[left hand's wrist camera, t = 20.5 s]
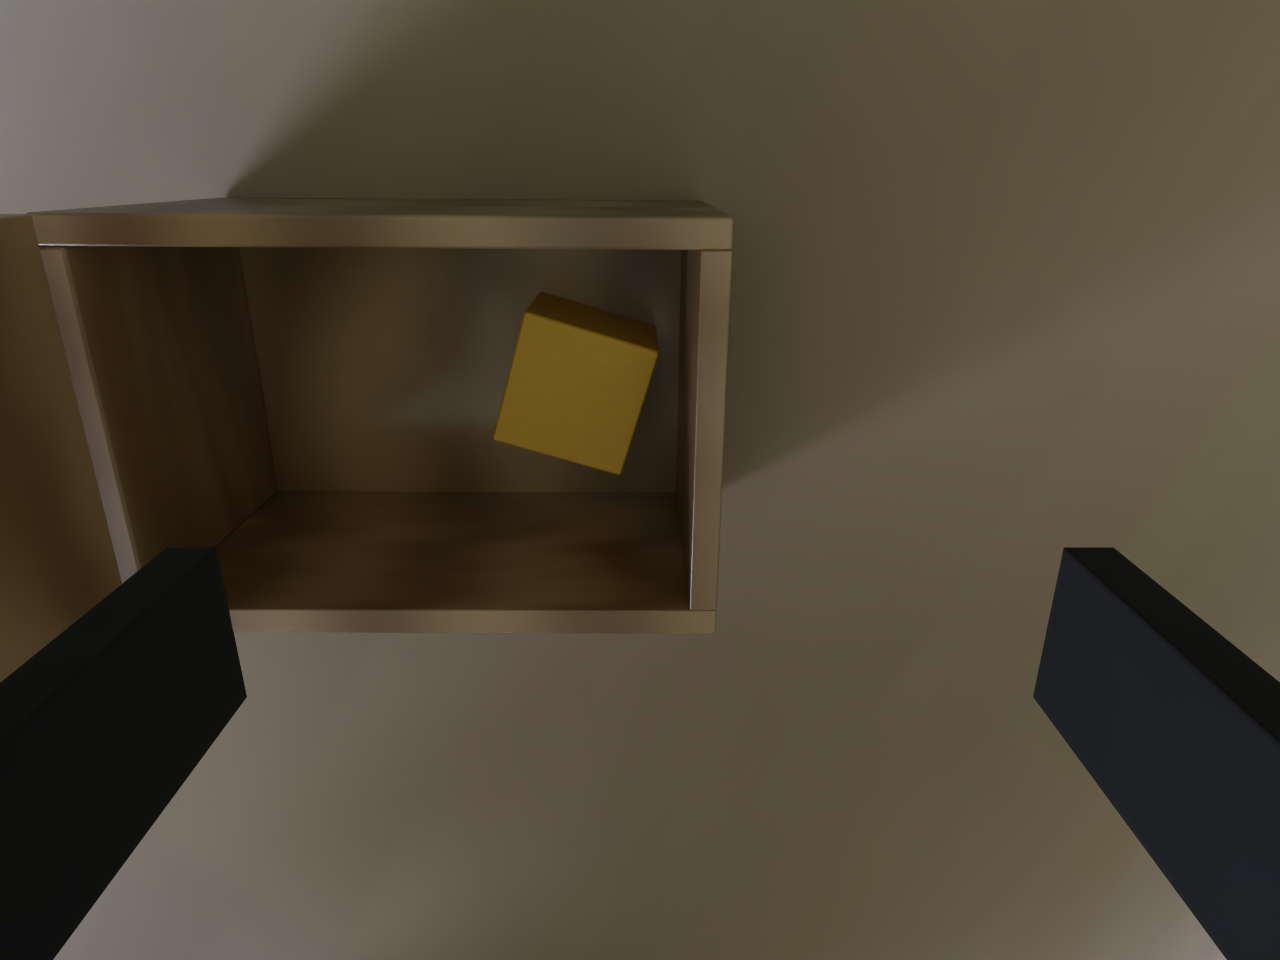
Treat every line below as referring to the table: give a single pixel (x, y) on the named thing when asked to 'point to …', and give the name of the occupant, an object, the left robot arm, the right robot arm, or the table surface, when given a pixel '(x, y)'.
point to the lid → (42, 467)
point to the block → (577, 383)
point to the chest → (395, 406)
